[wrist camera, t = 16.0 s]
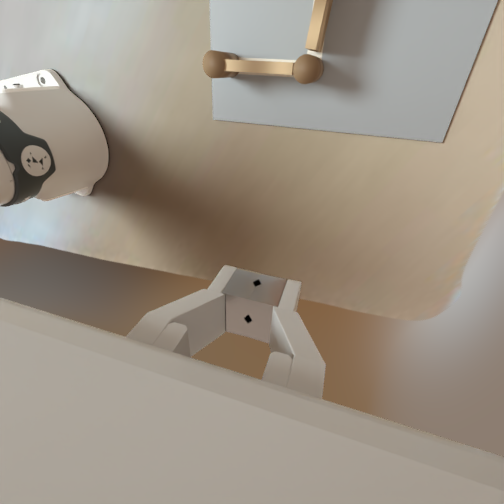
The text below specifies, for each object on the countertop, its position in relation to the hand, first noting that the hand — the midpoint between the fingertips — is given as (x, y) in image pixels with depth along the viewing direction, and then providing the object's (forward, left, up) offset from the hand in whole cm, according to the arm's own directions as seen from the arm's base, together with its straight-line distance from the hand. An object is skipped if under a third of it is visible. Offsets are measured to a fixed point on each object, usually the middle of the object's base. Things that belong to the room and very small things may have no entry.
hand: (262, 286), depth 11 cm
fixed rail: (-8, +7, -29) cm, 31 cm away
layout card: (-1, +12, -29) cm, 32 cm away
